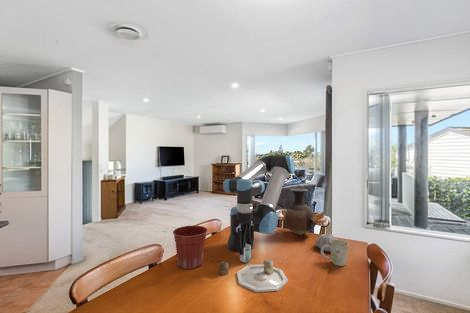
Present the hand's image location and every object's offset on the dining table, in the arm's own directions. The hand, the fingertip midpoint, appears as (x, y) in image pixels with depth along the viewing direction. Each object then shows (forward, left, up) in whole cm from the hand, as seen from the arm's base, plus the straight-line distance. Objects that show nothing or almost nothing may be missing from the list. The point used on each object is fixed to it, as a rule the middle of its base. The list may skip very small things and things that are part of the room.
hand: (245, 259), depth 113 cm
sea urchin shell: (+25, +44, -3) cm, 51 cm away
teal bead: (0, 0, -1) cm, 1 cm away
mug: (+33, +28, -2) cm, 44 cm away
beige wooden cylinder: (+14, -2, -1) cm, 14 cm away
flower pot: (-21, -17, -2) cm, 27 cm away
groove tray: (+14, -8, -2) cm, 16 cm away
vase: (+3, +55, -2) cm, 55 cm away
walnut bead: (-1, -15, -2) cm, 15 cm away
